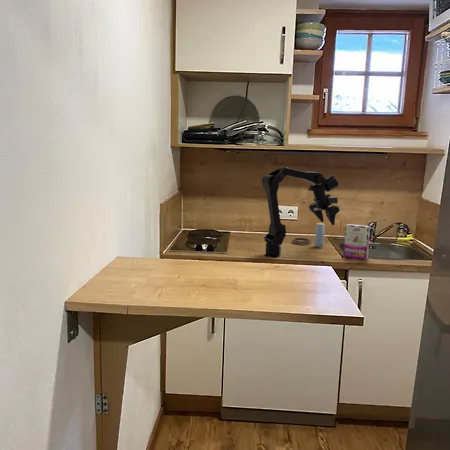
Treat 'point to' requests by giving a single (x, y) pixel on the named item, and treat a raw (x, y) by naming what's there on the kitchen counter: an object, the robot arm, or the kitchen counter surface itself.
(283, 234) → the robot arm
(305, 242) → the walnut tray
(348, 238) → the candy bar box
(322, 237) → the bead jar
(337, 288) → the kitchen counter surface
